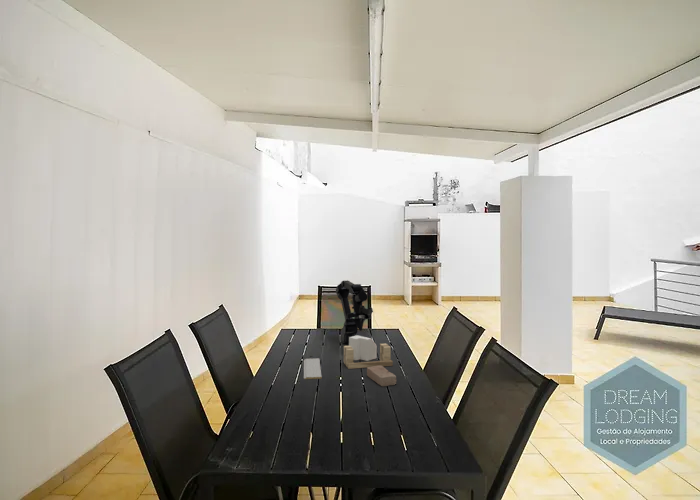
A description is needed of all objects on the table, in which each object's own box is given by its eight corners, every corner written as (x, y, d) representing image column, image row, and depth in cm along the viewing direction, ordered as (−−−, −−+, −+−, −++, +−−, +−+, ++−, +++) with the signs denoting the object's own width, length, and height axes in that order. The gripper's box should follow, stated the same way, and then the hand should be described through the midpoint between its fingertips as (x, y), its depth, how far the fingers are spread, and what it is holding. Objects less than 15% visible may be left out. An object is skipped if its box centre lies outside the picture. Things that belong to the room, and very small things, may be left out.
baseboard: (300, 380, 206) (321, 379, 207) (300, 374, 206) (321, 374, 207) (301, 361, 236) (319, 360, 237) (301, 356, 236) (319, 355, 237)
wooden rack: (343, 362, 233) (343, 345, 232) (385, 359, 238) (386, 343, 238) (348, 368, 221) (348, 351, 221) (392, 365, 227) (392, 349, 226)
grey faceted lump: (348, 358, 240) (349, 337, 239) (362, 354, 248) (362, 333, 247) (363, 362, 232) (363, 340, 232) (376, 358, 241) (376, 337, 240)
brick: (397, 384, 200) (397, 374, 199) (381, 387, 196) (381, 377, 196) (381, 374, 215) (381, 364, 215) (366, 376, 212) (366, 366, 211)
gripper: (360, 300, 246) (364, 327, 242) (376, 303, 262) (380, 329, 257) (344, 304, 252) (348, 331, 247) (361, 306, 267) (364, 332, 263)
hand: (360, 330), depth 253 cm, fingers closed
